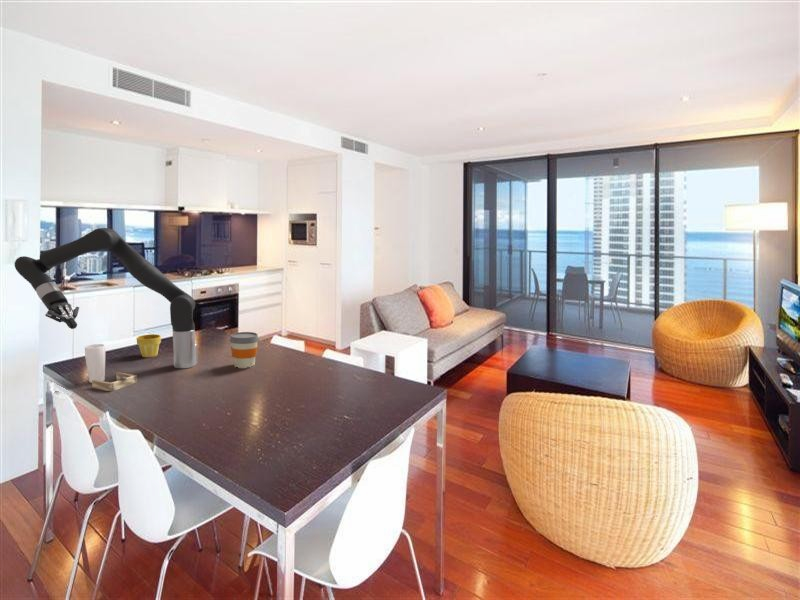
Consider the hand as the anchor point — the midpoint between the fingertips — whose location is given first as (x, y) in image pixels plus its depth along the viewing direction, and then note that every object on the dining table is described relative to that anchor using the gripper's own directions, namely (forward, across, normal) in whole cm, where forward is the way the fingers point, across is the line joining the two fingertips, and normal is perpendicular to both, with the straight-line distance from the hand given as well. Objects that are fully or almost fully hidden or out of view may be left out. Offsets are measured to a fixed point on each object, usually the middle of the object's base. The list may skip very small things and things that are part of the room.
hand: (74, 327), depth 179 cm
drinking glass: (+24, -1, +7) cm, 25 cm away
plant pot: (+15, +35, +15) cm, 41 cm away
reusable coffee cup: (+51, +42, -21) cm, 70 cm away
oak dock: (+31, -1, -1) cm, 31 cm away
